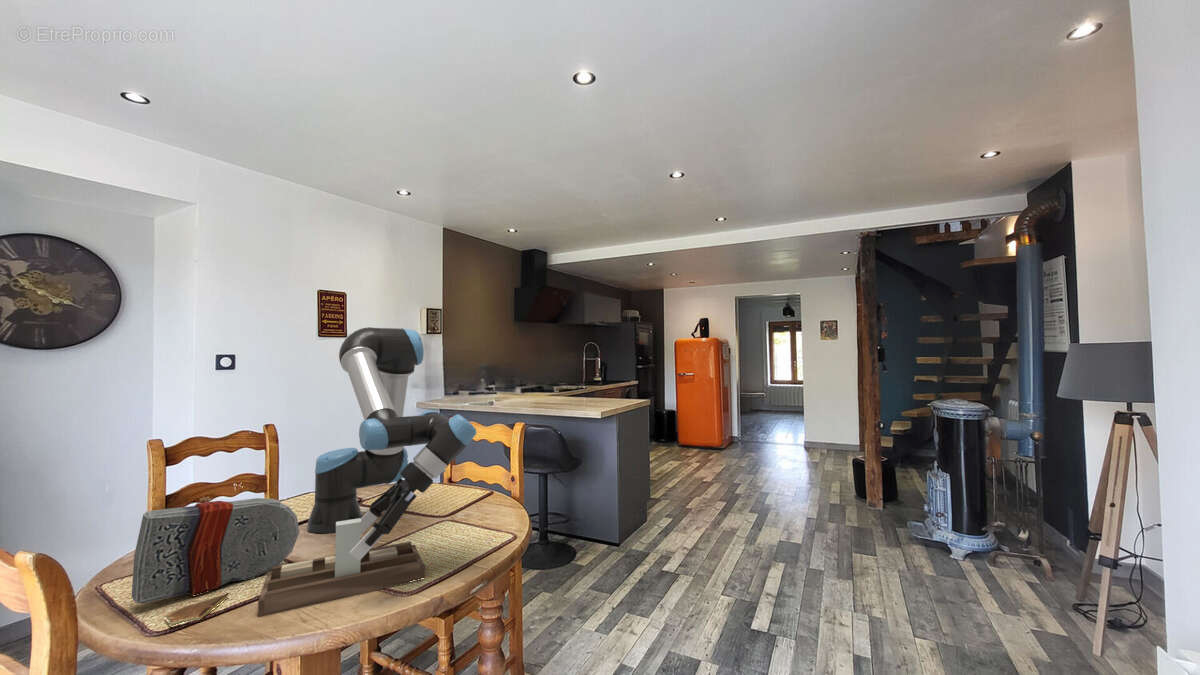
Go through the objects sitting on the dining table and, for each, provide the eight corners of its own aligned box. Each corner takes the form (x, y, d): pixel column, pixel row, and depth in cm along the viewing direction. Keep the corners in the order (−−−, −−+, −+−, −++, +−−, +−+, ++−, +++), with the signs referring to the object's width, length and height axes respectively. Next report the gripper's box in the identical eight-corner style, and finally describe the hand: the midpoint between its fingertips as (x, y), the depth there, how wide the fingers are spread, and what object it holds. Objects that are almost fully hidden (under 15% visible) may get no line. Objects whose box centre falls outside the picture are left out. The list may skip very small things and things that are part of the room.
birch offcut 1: (281, 587, 108) (282, 565, 108) (312, 581, 111) (312, 559, 111) (279, 595, 104) (280, 572, 104) (311, 588, 107) (312, 566, 107)
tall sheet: (334, 589, 106) (335, 521, 107) (359, 584, 109) (360, 518, 110) (334, 595, 104) (336, 525, 104) (360, 589, 106) (361, 521, 107)
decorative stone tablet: (147, 514, 97) (305, 494, 121) (140, 508, 101) (295, 490, 125) (131, 613, 95) (296, 574, 119) (125, 604, 99) (286, 567, 122)
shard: (229, 599, 103) (229, 590, 103) (241, 609, 99) (241, 601, 99) (162, 621, 95) (163, 612, 95) (172, 634, 90) (172, 624, 90)
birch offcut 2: (324, 579, 112) (325, 557, 112) (357, 572, 115) (358, 551, 116) (324, 586, 108) (324, 563, 109) (358, 578, 112) (358, 557, 112)
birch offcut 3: (369, 570, 116) (369, 551, 117) (395, 564, 119) (395, 546, 120) (370, 576, 113) (370, 557, 113) (397, 570, 116) (397, 552, 116)
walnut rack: (267, 585, 109) (267, 567, 109) (414, 556, 124) (414, 540, 125) (257, 616, 95) (258, 596, 95) (424, 579, 111) (424, 562, 111)
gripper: (445, 491, 105) (370, 576, 97) (425, 470, 127) (362, 538, 118) (420, 470, 103) (341, 555, 94) (404, 452, 124) (338, 521, 116)
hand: (352, 546), depth 106 cm, fingers open, 13 cm apart
